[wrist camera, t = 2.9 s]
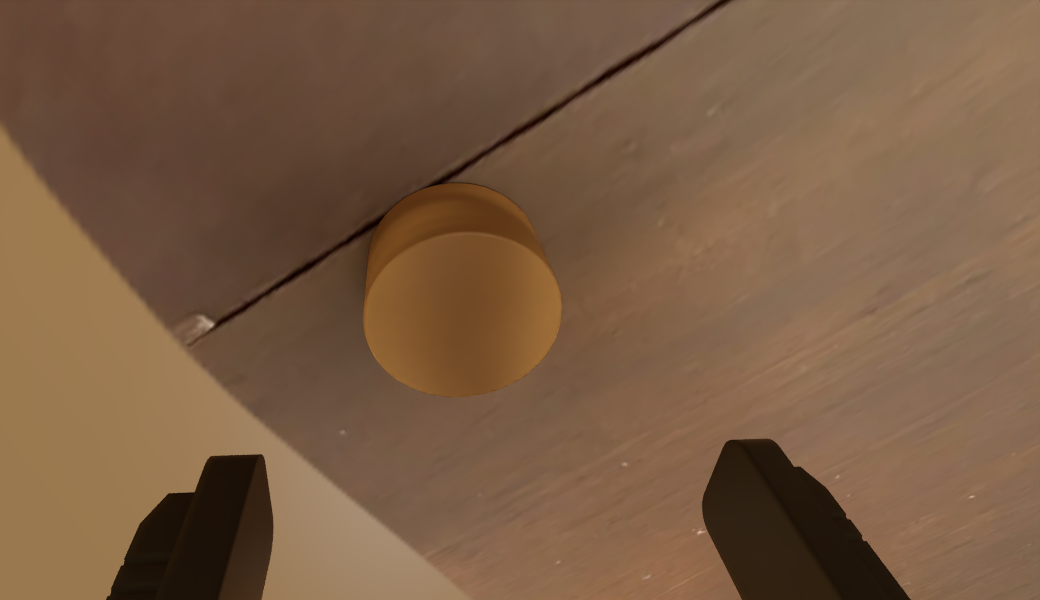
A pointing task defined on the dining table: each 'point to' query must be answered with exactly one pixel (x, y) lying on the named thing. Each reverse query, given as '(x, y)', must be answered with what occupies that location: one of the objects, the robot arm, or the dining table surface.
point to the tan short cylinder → (459, 292)
